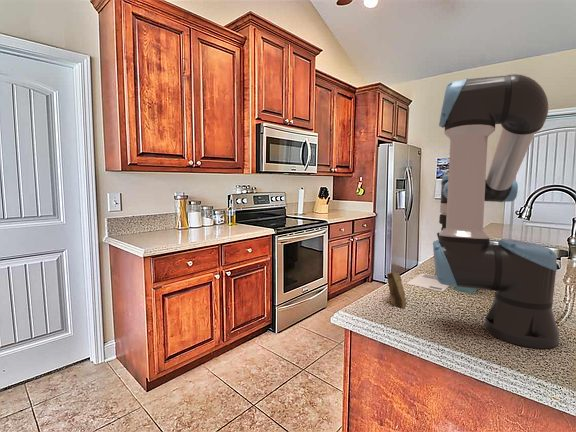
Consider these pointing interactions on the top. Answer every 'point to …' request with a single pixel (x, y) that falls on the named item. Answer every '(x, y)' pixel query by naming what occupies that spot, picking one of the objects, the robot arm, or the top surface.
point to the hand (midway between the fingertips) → (446, 273)
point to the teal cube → (466, 290)
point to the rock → (396, 290)
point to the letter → (427, 282)
